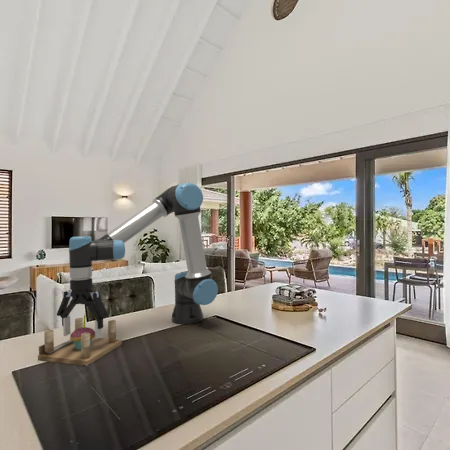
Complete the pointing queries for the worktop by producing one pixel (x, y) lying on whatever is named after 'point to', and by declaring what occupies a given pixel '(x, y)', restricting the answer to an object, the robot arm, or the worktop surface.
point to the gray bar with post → (52, 342)
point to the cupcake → (77, 335)
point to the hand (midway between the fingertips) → (82, 336)
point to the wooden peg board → (83, 347)
